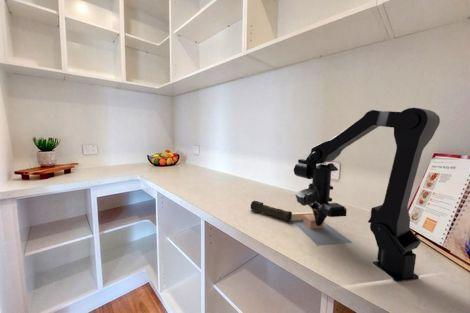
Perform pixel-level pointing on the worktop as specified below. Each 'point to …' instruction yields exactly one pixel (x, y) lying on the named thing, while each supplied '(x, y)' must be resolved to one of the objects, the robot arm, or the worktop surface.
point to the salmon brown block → (311, 221)
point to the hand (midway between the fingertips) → (318, 225)
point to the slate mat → (319, 231)
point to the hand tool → (271, 211)
